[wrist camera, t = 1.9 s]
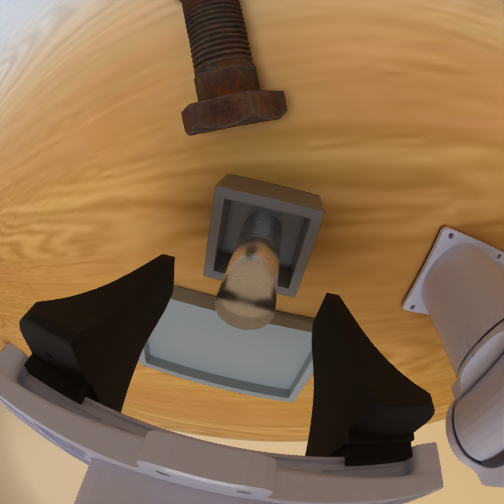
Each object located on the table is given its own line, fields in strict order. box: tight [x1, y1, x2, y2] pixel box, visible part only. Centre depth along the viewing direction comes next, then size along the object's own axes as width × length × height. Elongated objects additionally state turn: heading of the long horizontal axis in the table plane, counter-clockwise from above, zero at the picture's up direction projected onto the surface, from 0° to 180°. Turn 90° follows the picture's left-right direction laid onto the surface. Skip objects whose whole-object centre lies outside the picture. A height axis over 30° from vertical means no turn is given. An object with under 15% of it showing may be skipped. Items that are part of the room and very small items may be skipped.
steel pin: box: [215, 212, 282, 330], centre depth 15 cm, size 3×3×8 cm
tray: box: [139, 286, 315, 402], centre depth 25 cm, size 18×12×2 cm, turn 79°
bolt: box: [180, 0, 287, 136], centre depth 10 cm, size 6×5×15 cm
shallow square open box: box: [204, 174, 324, 297], centre depth 18 cm, size 6×6×3 cm
